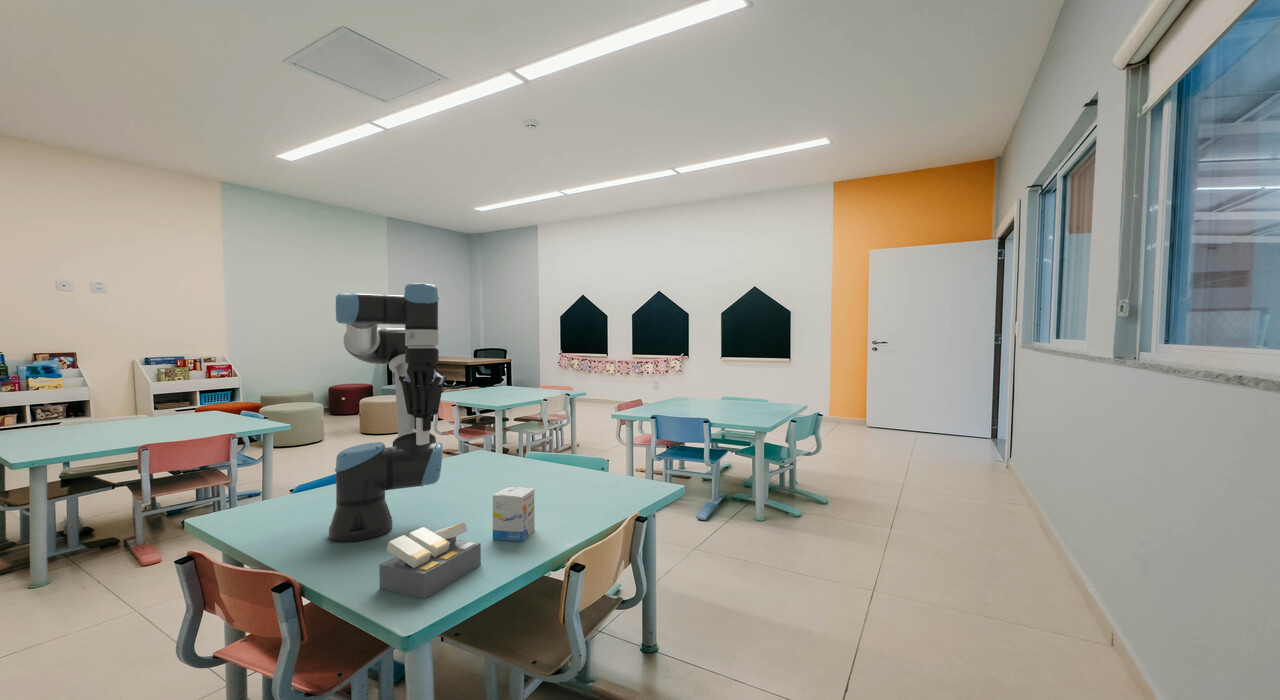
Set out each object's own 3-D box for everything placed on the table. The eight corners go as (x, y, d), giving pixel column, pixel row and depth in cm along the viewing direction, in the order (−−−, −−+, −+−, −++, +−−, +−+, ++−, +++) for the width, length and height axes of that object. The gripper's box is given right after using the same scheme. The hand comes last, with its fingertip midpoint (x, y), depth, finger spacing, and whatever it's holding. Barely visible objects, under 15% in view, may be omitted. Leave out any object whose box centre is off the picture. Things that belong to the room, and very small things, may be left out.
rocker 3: (428, 543, 116) (426, 534, 116) (441, 537, 120) (439, 528, 120) (455, 536, 113) (452, 527, 114) (467, 530, 117) (465, 521, 117)
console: (379, 588, 106) (379, 559, 106) (440, 556, 121) (439, 531, 121) (424, 598, 101) (423, 568, 101) (480, 564, 117) (480, 538, 117)
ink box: (522, 542, 130) (521, 496, 130) (491, 539, 132) (491, 494, 132) (535, 530, 139) (535, 487, 139) (506, 528, 140) (506, 485, 140)
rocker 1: (386, 549, 106) (388, 540, 106) (402, 542, 110) (404, 534, 110) (414, 568, 103) (416, 559, 103) (429, 560, 107) (431, 551, 107)
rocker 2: (407, 540, 111) (409, 532, 111) (421, 534, 115) (423, 526, 115) (434, 557, 108) (436, 548, 108) (448, 550, 112) (450, 541, 112)
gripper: (389, 347, 123) (390, 444, 123) (431, 347, 118) (432, 448, 118) (413, 347, 130) (414, 439, 130) (454, 347, 125) (454, 443, 125)
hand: (422, 443), depth 124 cm, fingers closed
